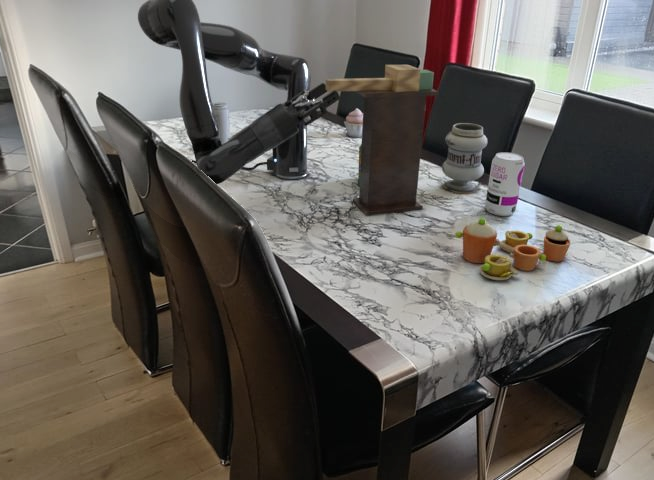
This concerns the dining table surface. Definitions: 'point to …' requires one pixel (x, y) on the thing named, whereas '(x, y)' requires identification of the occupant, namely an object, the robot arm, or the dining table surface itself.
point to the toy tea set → (509, 249)
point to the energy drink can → (222, 121)
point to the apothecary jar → (464, 157)
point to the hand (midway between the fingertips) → (331, 90)
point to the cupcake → (354, 123)
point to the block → (426, 80)
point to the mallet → (381, 81)
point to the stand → (391, 150)
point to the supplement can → (504, 183)
